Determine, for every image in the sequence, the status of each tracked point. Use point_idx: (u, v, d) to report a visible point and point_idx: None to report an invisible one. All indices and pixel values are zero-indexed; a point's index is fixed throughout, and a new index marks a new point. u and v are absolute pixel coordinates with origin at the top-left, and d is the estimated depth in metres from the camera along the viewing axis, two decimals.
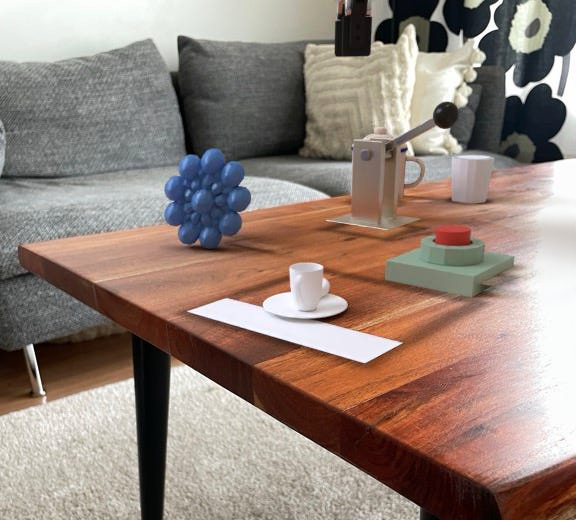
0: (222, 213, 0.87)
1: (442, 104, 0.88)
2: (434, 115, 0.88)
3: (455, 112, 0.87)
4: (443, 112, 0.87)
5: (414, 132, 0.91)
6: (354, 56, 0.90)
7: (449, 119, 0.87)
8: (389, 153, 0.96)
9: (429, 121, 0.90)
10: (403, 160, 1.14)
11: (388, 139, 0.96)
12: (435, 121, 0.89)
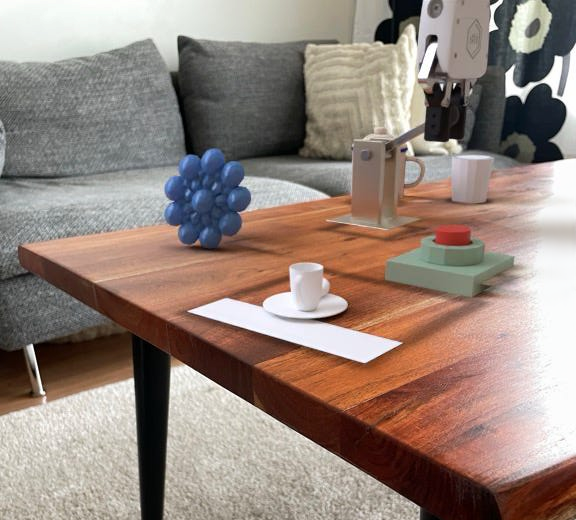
0: (222, 213, 0.87)
1: None
2: None
3: (455, 112, 0.87)
4: None
5: (414, 132, 0.91)
6: (456, 139, 0.91)
7: None
8: (389, 153, 0.96)
9: None
10: (403, 160, 1.14)
11: (388, 139, 0.96)
12: None
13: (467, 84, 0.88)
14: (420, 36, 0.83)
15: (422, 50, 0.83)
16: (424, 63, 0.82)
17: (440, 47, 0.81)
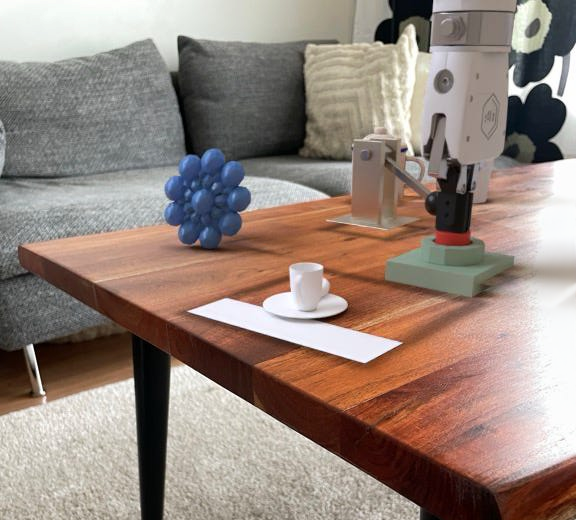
0: (222, 213, 0.87)
1: None
2: (429, 198, 0.92)
3: None
4: (435, 206, 0.92)
5: (409, 183, 0.94)
6: None
7: (434, 213, 0.93)
8: None
9: (424, 192, 0.93)
10: (403, 160, 1.14)
11: (388, 139, 0.96)
12: (426, 201, 0.93)
13: (474, 167, 0.72)
14: (425, 114, 0.68)
15: (427, 130, 0.68)
16: (433, 152, 0.68)
17: (449, 129, 0.67)
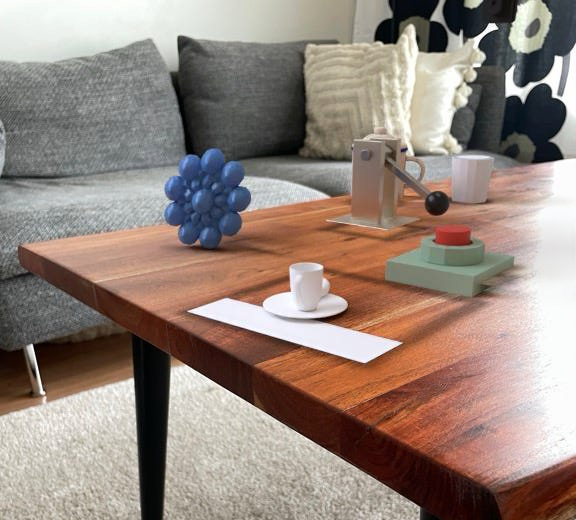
0: (222, 213, 0.87)
1: (441, 199, 0.92)
2: (429, 198, 0.92)
3: (442, 213, 0.93)
4: (435, 206, 0.92)
5: (409, 183, 0.94)
6: None
7: (434, 213, 0.93)
8: None
9: (424, 192, 0.93)
10: (403, 160, 1.14)
11: (388, 139, 0.96)
12: (426, 201, 0.93)
13: None
14: None
15: None
16: None
17: None
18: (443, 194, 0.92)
